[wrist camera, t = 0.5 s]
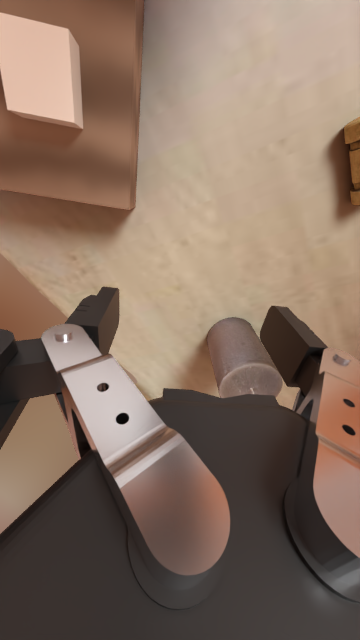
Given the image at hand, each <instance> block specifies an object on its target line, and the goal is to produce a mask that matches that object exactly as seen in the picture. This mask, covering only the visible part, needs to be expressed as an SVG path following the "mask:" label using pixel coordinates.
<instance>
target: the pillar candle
mask: <svg viewBox="0 0 360 640" xmlns="http://www.w3.org/2000/svg"><path fill="white" fill-rule="evenodd" d="M207 343H208V347H209V352H210V356H211V361H212V365H213V369H214V373H215V377H216V381H217V386H218V390H219V394H220V398H227V397H233V396H239V395H244V394H258V395H273V396H275V398H276V397H277V396H278V394H279V393H280V391H281V388H282V377H281V375H280V373H279V371H278V370H277V368H276V366H275V365H274V363H273V361H272V360H271V358H270V356H269V355H268V353H267V351H266V350H265V348H264V346H263V345H262V343H261V341H260V340H259V338H258V336H257V335H256V333H255V331H254V329H253V328H252V326H251V325H250V323H248V322H247V321H246V320H244V319H240V318H234V317H232V318H227V319H223V320H221V321H219V322H218V323H216V324H215V325H214V326H213V327H212V328H211V329H210V331H209V333H208V336H207Z"/></svg>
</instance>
